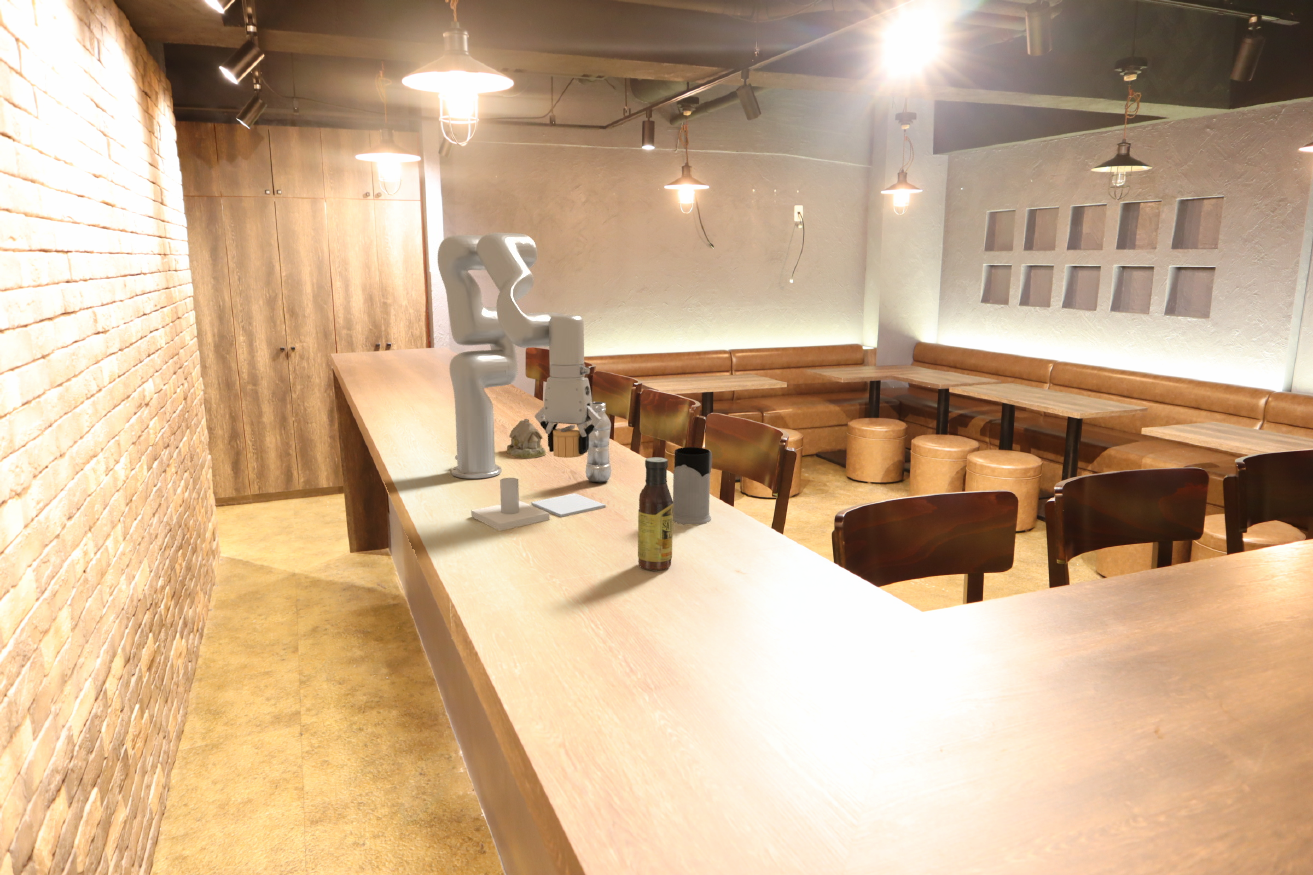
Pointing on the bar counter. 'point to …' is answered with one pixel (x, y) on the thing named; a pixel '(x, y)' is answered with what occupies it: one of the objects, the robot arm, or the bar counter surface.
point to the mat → (568, 505)
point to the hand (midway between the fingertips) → (568, 451)
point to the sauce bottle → (655, 518)
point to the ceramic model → (525, 441)
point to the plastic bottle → (599, 447)
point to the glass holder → (691, 485)
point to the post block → (509, 509)
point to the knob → (566, 442)
